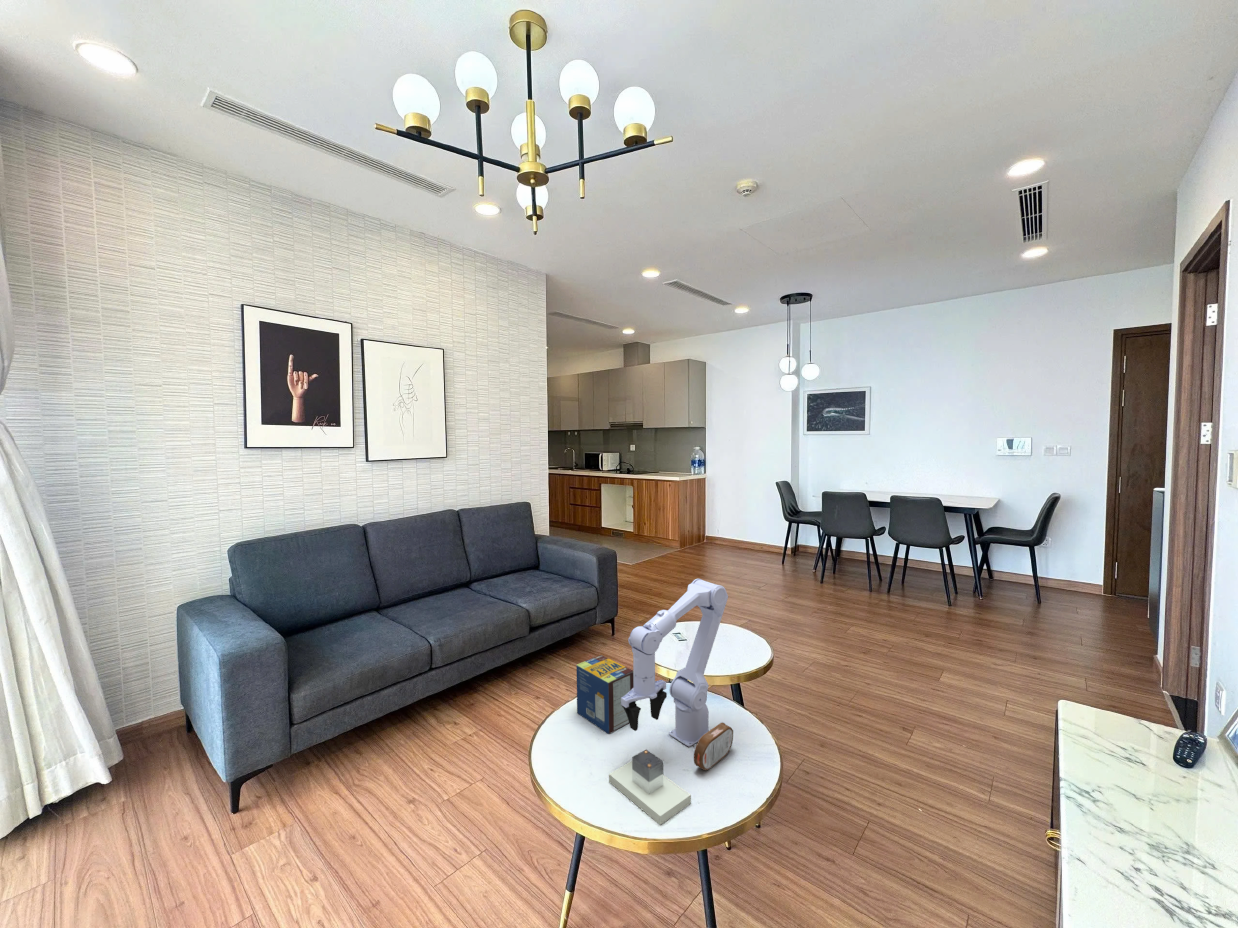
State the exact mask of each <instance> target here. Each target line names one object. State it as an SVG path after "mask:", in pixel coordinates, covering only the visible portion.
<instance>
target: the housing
mask: <svg viewBox="0 0 1238 928" xmlns="http://www.w3.org/2000/svg"><path fill="white" fill-rule="evenodd" d="M631 761H632V781H633V782H634V783H635V784H637V785H638V786H639V787H641V788H642V789H643V790H644V791H646V792H647V793H648V794H649V795H650V794H651V793H653V792H654V791H656V790H657V789H659V788H660V787H662V786H663V775H664V760H662V759H660V758H659V757H658V756H657V755H655V754H654V753H653V752H651V751H649V750H647V749H644V750H642V751H640V752H639V753H637V754H635V755H633V756H632V757H631Z"/></svg>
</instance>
